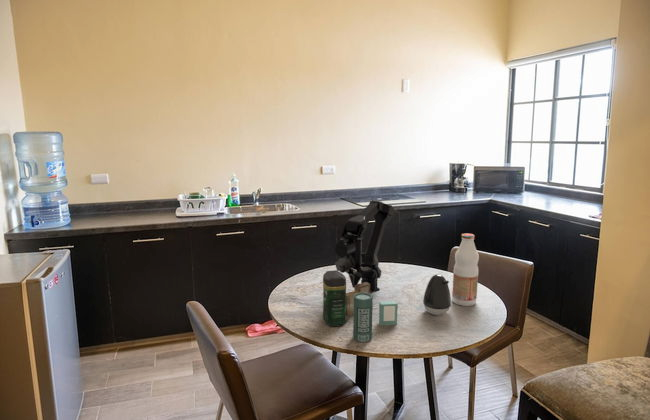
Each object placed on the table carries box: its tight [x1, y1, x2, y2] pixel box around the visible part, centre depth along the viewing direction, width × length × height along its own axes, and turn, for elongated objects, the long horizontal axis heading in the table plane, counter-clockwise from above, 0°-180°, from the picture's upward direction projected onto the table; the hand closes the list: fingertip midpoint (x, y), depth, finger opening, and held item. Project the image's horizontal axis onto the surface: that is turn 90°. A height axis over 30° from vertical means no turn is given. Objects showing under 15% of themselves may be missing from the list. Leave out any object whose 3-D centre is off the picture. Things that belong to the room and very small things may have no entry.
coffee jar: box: [322, 270, 347, 327], centre depth 161 cm, size 10×8×19 cm
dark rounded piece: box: [422, 274, 452, 316], centre depth 169 cm, size 10×10×15 cm
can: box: [352, 293, 374, 343], centre depth 149 cm, size 6×6×15 cm
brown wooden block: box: [353, 282, 371, 294], centre depth 178 cm, size 3×6×8 cm, turn 124°
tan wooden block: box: [346, 290, 360, 317], centre depth 169 cm, size 3×6×8 cm, turn 124°
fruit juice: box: [451, 232, 480, 307], centre depth 177 cm, size 9×9×28 cm
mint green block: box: [378, 300, 399, 326], centre depth 160 cm, size 3×6×8 cm, turn 96°
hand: (354, 287), depth 182 cm, fingers closed
